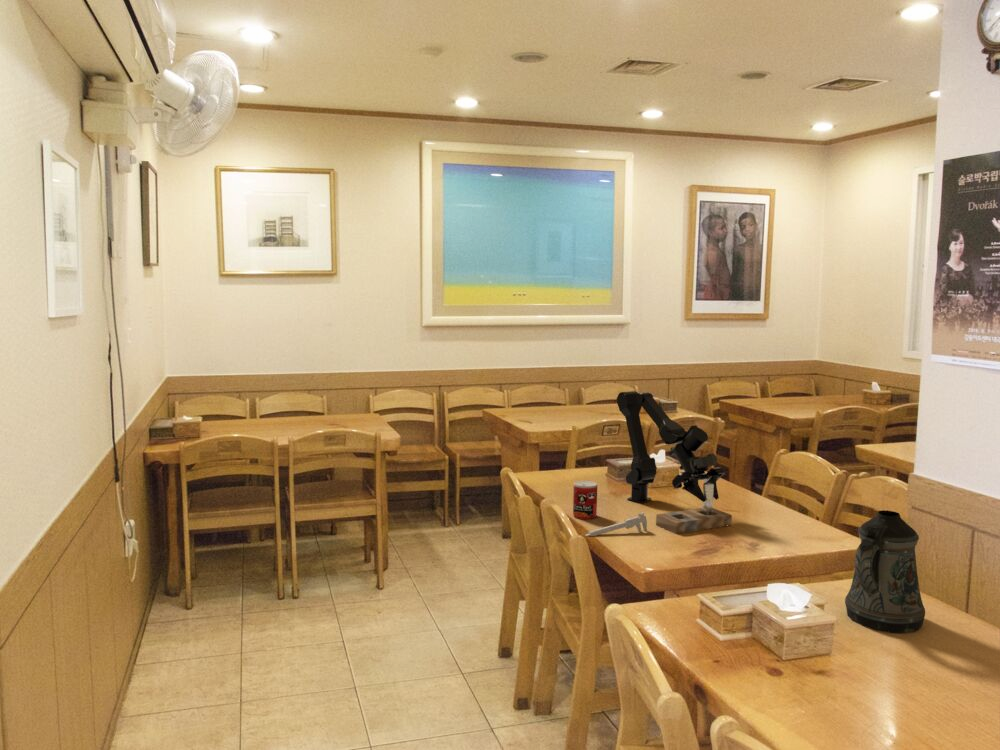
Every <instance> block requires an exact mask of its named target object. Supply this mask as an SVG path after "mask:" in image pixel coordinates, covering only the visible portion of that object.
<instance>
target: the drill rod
mask: <svg viewBox="0 0 1000 750" xmlns="http://www.w3.org/2000/svg"><path fill="white" fill-rule="evenodd" d="M702 486H703V487H702V492H703V494H704V496H705V499H706V501H705V502H703V501H702V507H701V508H702V514H703V515H706V516H708V515H712V511H713V508H714V506H713V505H714V497H713V490H714V484H713V483H705V482H703V484H702Z"/></svg>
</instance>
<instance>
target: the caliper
mask: <svg viewBox="0 0 1000 750" xmlns="http://www.w3.org/2000/svg"><path fill="white" fill-rule="evenodd" d="M637 515H638V516H634V517H631V518H628V519H624V520H623V521H621V522H618V523H615V524H611V525H609V526H605V527H601V528H597V529H594V530H590V531H588V533H586V534H585V535H584V536H585V537H596V536H600V535H603V534H606V533H610V532H613V531H616V530H619V529H620V530H621V529H623V528H625V529H627V530H629V529H632V528H634V527H636V529H637V530H638V532H640V531H641V532H642V529H643V531H644V532H647V530H648V529H647V528H648V521H647V515H645V514H644V512H643V511H641V513H640V512H639V513H637ZM641 523H642V527H641Z"/></svg>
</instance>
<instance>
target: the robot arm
mask: <svg viewBox="0 0 1000 750" xmlns="http://www.w3.org/2000/svg"><path fill="white" fill-rule="evenodd" d="M616 403H617V406H618V407H617V408H618V409H619V411H620V413H621V414H622V415H623V416H624V417H625V422H626V427H627V432H628V436H629V441H630V446H631V451H632V455H633V456H632V460H631V463H630V468H631V470H630V472H629V473H628V474H627V475H626V476H625V481H626V484H629V485H631V495H630V497H628V498H627V499H626V500H628V501H631V502H632V501H633V502H636V503H637V502H638V503H641V504H642V503H643V504H645V503H647V502H648V501H651V500H652V497H648V494H649V491H648V490H649V484H653V483H654V481H655V478H656V475H657V474H658V473H657V469H658V467H657V465H656V459H655V457H651V456H650V455H649V453H648V449H647V445H646V439H645V435H644V431H643V427H642V421H641V416H640V413H641V410H642V408H643V410H644V411H645V412H646V414H647V415H648V416H649V417H650V419H651V420H652V421H653V423H654V424H655V425H656V426H657V428H658V435H659V436H660V438H661V440H662V442H663V443H664V444H665V445H669V446H671V445H675V446H673V447H670V451H669V456H670V457H671V456H675V457H676V459H677V461H678V463H679V465H680V466H679V470H680V471H683V472H678V473H677V475H675V476H674V478H673V479H672V482H671V484H672V487H673V488H674V490H675V489H676V490H677V489H682V490H684V491H686V492H688V493H689V494H691V495H693V496H694V497H696V498H697V499H699V500H700V501H701V502H702V503H703V502H705V501H706V499H705V496H704V494H703V490H702V489H701V486H700V485H699V481H701V480H702V481H703V483H713V484H714V490H713V499H715V500H719V492H718V486H717V482H718V480H720V479H721V478H722V477H723V475H725V474H726V473H725V470H724V469H723V468H722V467H719V466H717V467H711V466H716V463H718V458H717V455H715V453H713V452H712V453H708V454H706V455H705V456H701V457H700V456H699V455H698V456H697V455H696V454H695V452H697V451H699V450H700V448H701V447H702V446H703V445H705V443H706V442H707V441H708V439H709V435H708V434H707V432H706V431H705V430H703V429H702V428H699V427H698V425H697V424H693V425H690V427H689V428H688V430H687V431H686V430H685V428H684V427H683V426H681V425H680V424H679V423H678V422H676V421H674V420H673V419H671V418H670V417H669V416H668V414H667V413H666V412H665V411H664V409H663V408H662V407H661V406H660V404H659V403H658V402H657V400H655V398H654V395H653V394H652V393H651V392H648V391H647V392H638V391H636V390H634V391H632V390H631V391H621V392H619V393H618V394H617V397H616ZM709 467H711V468H710V469H709ZM706 471H707V472H706Z"/></svg>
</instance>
